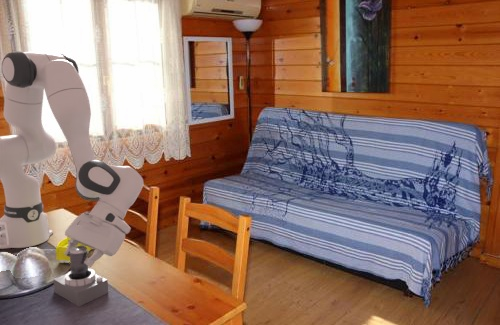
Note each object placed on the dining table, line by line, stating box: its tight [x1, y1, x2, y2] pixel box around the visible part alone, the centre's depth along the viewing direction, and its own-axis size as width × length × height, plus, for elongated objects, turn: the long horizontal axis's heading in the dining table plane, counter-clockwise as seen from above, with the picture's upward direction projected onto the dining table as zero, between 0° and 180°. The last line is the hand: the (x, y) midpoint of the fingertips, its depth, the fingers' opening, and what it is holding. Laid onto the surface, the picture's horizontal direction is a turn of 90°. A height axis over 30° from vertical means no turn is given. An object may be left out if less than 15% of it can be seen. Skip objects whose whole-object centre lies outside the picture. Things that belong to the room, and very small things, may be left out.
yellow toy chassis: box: [55, 236, 93, 261], centre depth 139 cm, size 16×6×8 cm, turn 169°
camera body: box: [53, 267, 109, 307], centre depth 115 cm, size 12×9×6 cm
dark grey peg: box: [69, 246, 89, 280], centre depth 114 cm, size 4×4×9 cm
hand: (76, 260), depth 113 cm, fingers open, 8 cm apart
